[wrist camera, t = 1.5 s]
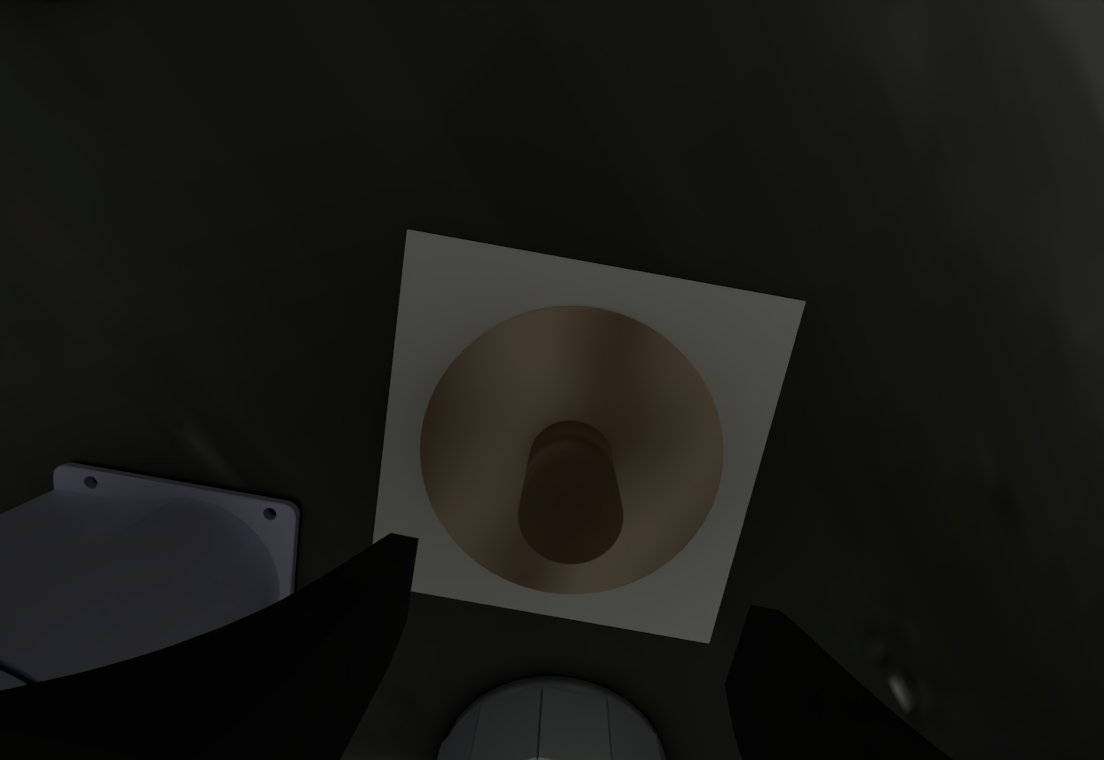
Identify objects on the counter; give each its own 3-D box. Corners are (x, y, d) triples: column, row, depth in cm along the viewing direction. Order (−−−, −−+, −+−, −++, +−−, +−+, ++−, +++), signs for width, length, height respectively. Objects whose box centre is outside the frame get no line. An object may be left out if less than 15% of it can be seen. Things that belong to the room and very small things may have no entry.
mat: (371, 579, 22) (368, 583, 22) (409, 229, 19) (407, 229, 19) (707, 638, 22) (709, 643, 22) (802, 300, 19) (805, 301, 19)
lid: (409, 557, 22) (361, 647, 17) (444, 281, 19) (400, 290, 14) (681, 605, 22) (714, 708, 17) (751, 335, 19) (814, 363, 14)
